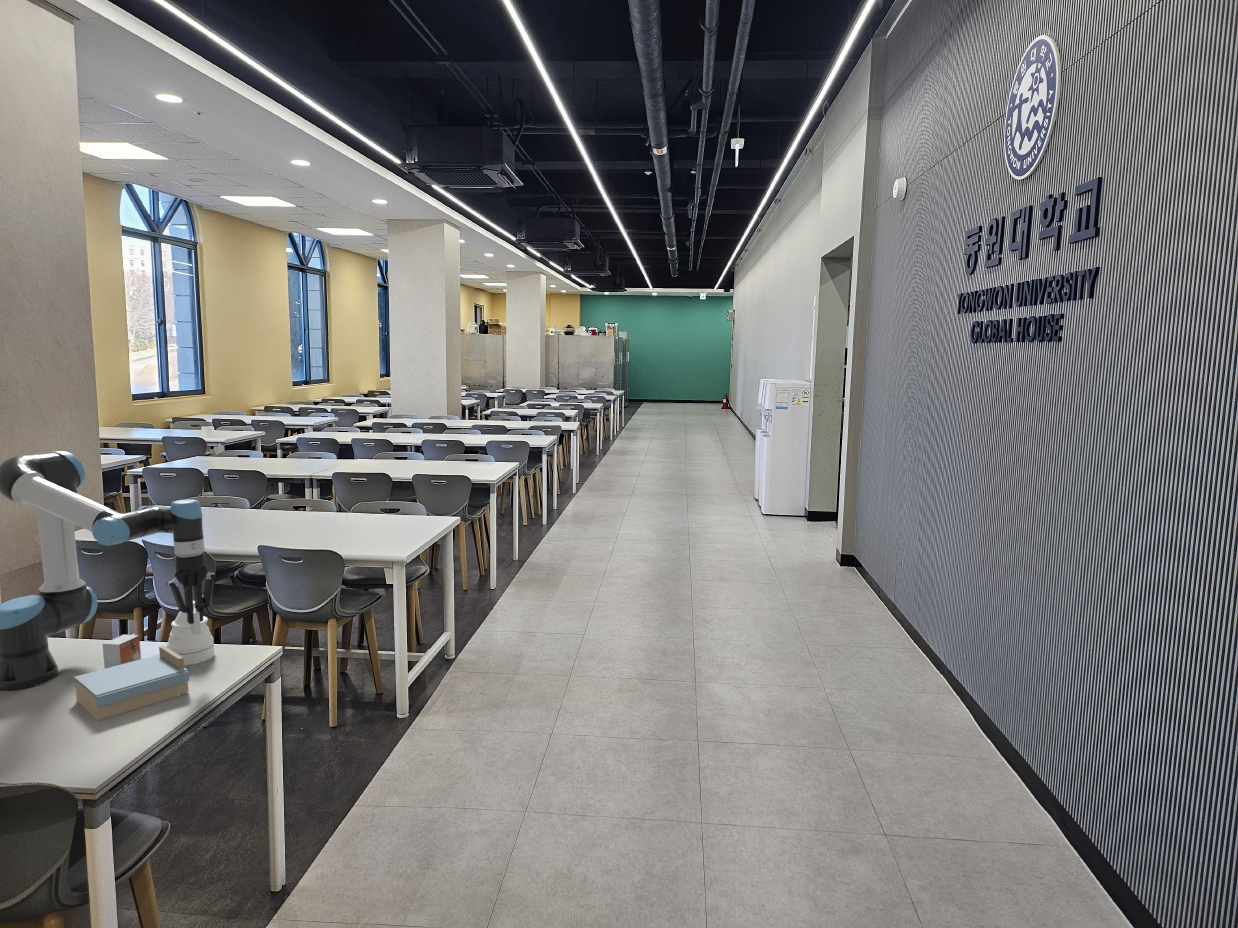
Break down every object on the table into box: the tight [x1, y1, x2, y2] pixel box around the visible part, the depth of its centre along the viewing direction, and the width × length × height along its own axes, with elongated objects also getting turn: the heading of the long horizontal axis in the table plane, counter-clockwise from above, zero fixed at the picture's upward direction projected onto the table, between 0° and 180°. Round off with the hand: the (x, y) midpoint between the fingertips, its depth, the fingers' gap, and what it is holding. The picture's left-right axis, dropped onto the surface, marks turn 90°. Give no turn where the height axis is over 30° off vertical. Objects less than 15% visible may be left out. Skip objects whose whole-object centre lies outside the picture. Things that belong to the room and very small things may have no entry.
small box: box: [102, 634, 142, 669], centre depth 229 cm, size 8×6×10 cm
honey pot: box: [166, 600, 215, 666], centre depth 241 cm, size 13×13×18 cm
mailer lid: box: [73, 645, 190, 707], centre depth 213 cm, size 19×22×6 cm
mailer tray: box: [74, 680, 190, 721], centre depth 213 cm, size 17×22×6 cm
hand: (196, 633), depth 225 cm, fingers closed
